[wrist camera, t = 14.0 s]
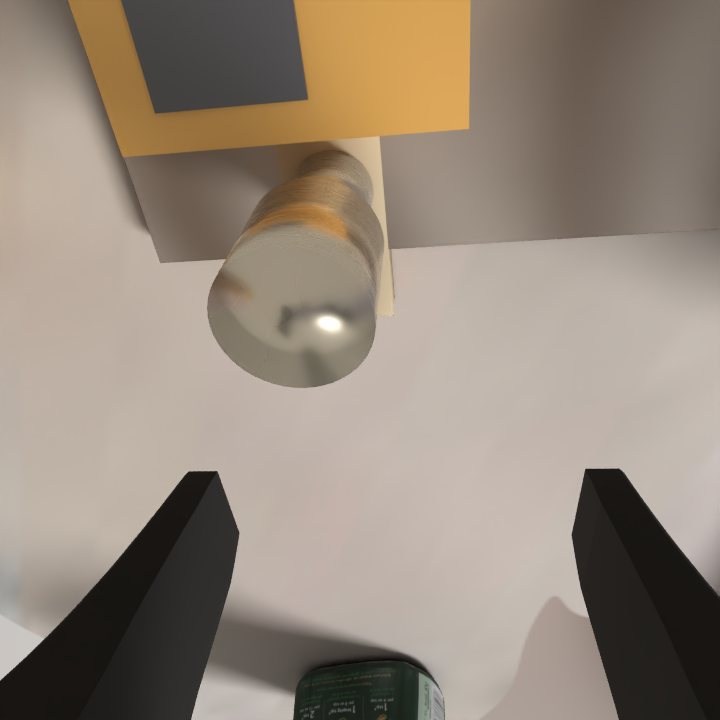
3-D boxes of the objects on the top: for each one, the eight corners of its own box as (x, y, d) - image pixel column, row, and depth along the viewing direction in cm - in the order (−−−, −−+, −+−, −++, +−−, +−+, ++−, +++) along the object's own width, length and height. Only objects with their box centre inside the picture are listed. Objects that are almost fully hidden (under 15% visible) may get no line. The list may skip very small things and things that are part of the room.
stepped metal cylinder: (386, 126, 16) (367, 240, 11) (394, 240, 18) (381, 385, 13) (265, 136, 17) (186, 250, 11) (286, 246, 19) (229, 389, 13)
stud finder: (453, -132, 13) (473, -146, 9) (454, 69, 15) (469, 130, 11) (145, -91, 14) (34, -87, 10) (193, 94, 16) (120, 158, 12)
